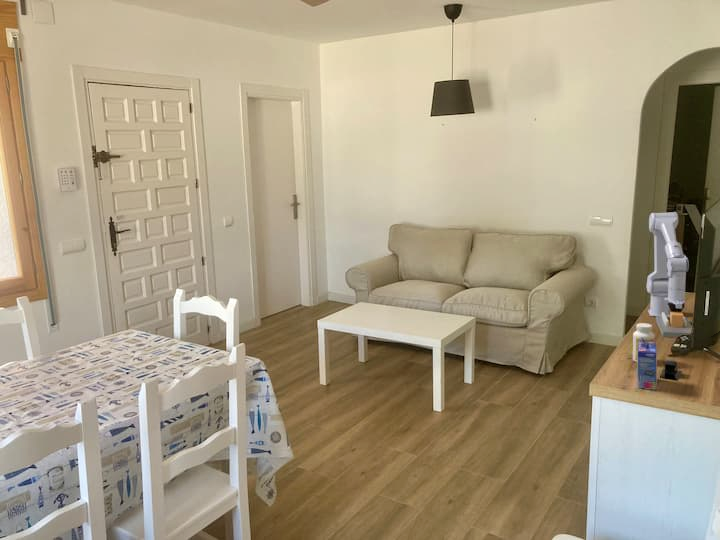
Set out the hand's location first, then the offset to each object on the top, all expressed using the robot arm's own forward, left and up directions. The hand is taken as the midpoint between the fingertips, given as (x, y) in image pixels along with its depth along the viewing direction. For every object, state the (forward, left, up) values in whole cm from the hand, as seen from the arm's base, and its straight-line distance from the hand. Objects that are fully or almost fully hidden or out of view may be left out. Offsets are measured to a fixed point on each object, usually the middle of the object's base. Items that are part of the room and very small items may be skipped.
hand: (675, 321), depth 225 cm
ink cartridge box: (+59, -16, -3) cm, 61 cm away
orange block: (+2, 0, -1) cm, 2 cm away
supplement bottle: (+39, -15, -3) cm, 42 cm away
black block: (+50, -8, -4) cm, 51 cm away
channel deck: (0, 0, -3) cm, 3 cm away
